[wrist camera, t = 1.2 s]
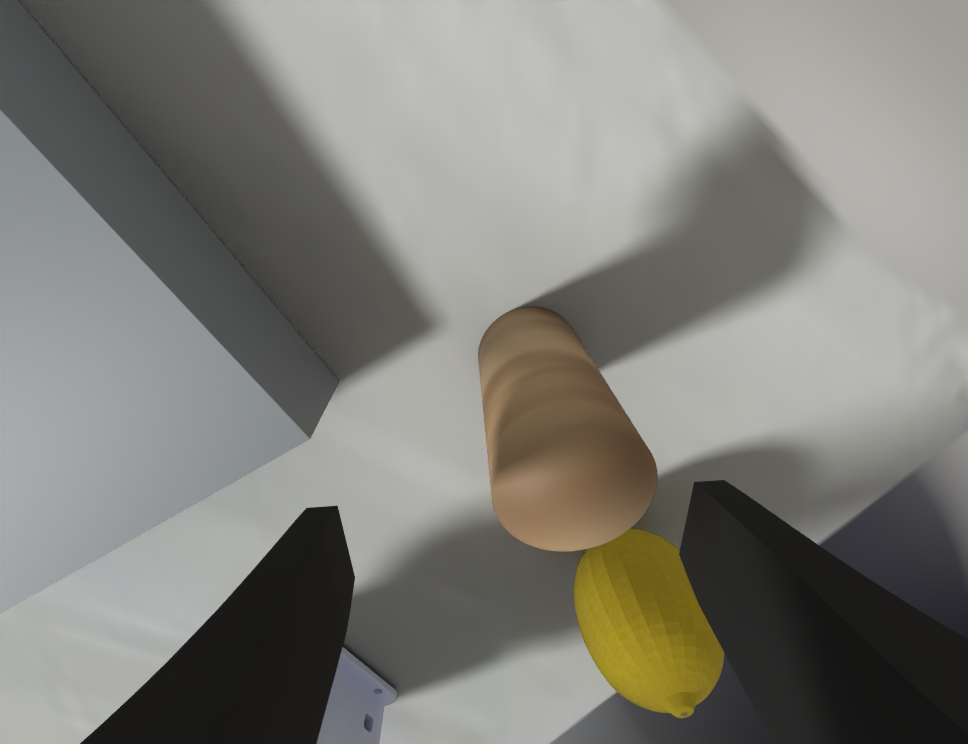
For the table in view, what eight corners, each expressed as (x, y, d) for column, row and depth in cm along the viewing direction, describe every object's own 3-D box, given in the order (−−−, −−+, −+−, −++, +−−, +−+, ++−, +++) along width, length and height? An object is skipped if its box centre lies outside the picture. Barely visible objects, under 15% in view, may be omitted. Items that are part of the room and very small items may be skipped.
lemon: (535, 539, 23) (571, 722, 15) (622, 473, 21) (708, 642, 14) (605, 589, 24) (666, 772, 17) (690, 531, 23) (796, 707, 16)
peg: (594, 369, 19) (680, 509, 11) (509, 414, 19) (539, 572, 12) (550, 287, 17) (618, 390, 10) (459, 339, 18) (459, 471, 10)
